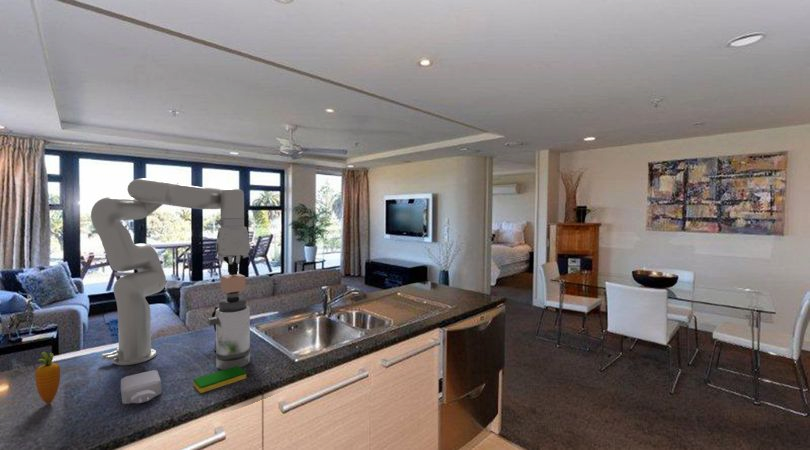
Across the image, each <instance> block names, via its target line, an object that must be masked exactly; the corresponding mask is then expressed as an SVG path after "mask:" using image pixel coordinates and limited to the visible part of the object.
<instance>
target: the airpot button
mask: <svg viewBox="0 0 810 450" xmlns="http://www.w3.org/2000/svg"><path fill="white" fill-rule="evenodd" d="M219 281H220V291H221V292H224V293H226V294H227V293H231V292H237V291H239V292H243V291H246V275H243V274H241V273H237V275H230V274H224V275H222V274H221V275H220V279H219Z"/></svg>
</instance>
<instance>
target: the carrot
mask: <svg viewBox="0 0 810 450" xmlns="http://www.w3.org/2000/svg"><path fill="white" fill-rule="evenodd" d="M40 354H41V356H42V357H43V358H44V359H43V358H39V359H37V361H38V362H42V365H40V366H38V367H37V369H36V370H35V372H34V373H35V374H34V375H35V376H34V377H35V385H36V389H37V392H38V395H39V397H40V398H41V400H42V401H43V402H44V403H45V404H47V405H51V403H52V402H53V401H54V399H55V398H56V396H57V393H58V389H59V386H60V381H61V365H60V364H59V363H56V362H53V358H54V353H52V352H50V353H49V355H48V354H47V352H46V351H42V352H41V353H40Z"/></svg>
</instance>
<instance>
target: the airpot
mask: <svg viewBox="0 0 810 450" xmlns="http://www.w3.org/2000/svg"><path fill="white" fill-rule="evenodd" d="M218 304H219V308H218V309H216V314H215V317H212V316H211V317H208V318H207V325H209V326H214V325H215V324H216V332H215V341H216V352H215V361H216V363H215V364H216V368H217V369H219V370H221V371H222V370H226V369H229V368H232V367H235V366H239V367H240V368H243V367H245V366H247V365H248V364H250V362H251V336H250V334H251V324H250V323H251V317H250V316H251V314H250V313H251V312H250V311H251V309H250V305H248V299H247V298H245V297H240V291H237V292H231V293H226V298H224V299H220V300H219V301H218Z"/></svg>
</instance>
